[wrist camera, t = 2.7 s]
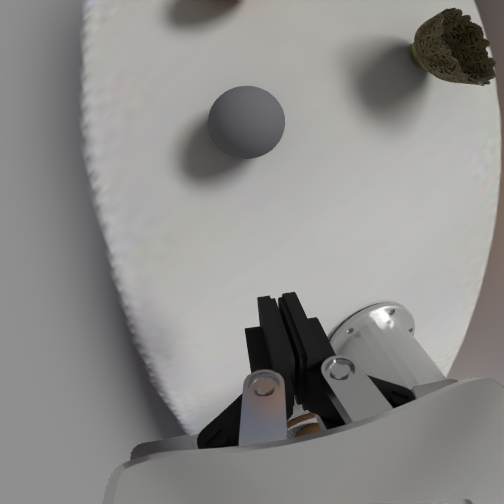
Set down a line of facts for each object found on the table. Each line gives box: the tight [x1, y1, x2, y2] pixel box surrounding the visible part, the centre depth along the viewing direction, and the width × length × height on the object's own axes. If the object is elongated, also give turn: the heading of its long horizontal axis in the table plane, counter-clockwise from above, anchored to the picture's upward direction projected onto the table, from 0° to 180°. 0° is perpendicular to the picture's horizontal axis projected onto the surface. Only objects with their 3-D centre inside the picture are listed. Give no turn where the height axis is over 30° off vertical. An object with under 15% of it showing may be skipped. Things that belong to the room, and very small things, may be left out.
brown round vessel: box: [410, 8, 496, 86], centre depth 15 cm, size 8×7×8 cm
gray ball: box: [208, 86, 285, 159], centre depth 19 cm, size 6×6×6 cm
